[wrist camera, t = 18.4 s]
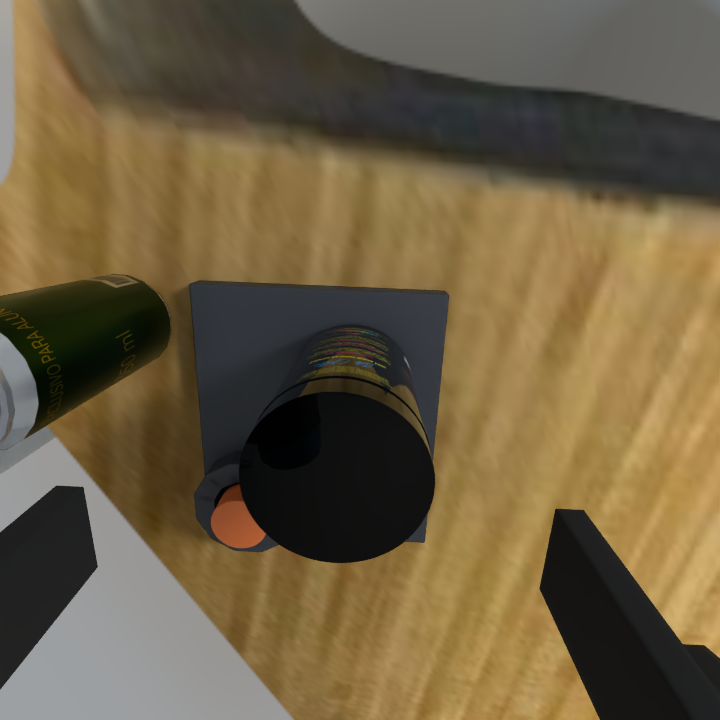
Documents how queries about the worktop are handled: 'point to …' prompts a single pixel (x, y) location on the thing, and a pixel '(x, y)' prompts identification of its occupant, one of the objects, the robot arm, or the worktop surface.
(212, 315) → the kitchen scale
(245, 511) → the button
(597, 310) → the worktop surface
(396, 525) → the supplement container
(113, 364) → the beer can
